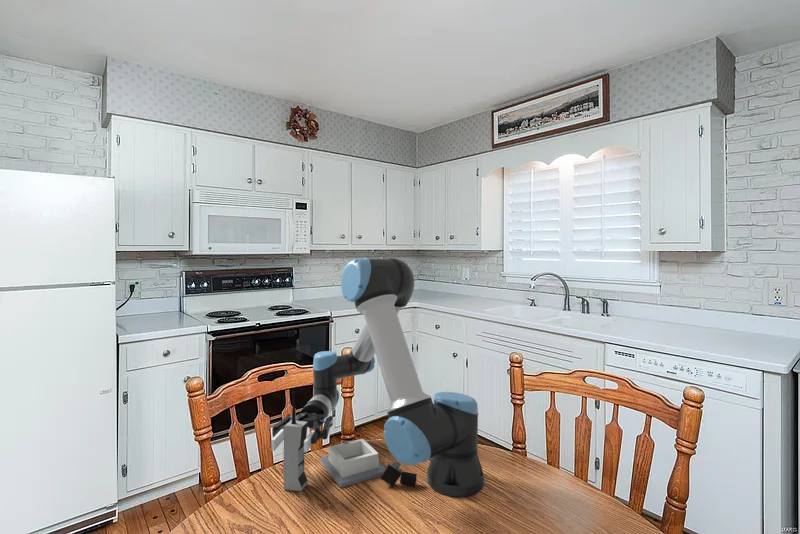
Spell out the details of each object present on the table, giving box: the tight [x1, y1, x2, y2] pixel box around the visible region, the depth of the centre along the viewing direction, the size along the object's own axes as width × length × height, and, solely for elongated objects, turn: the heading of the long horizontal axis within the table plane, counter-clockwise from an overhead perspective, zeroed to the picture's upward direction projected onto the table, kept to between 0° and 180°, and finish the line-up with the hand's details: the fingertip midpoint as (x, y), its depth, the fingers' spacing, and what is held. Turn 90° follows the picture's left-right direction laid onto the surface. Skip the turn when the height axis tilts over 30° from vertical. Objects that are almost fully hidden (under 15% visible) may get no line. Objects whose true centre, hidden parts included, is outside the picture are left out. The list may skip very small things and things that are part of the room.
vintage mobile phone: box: [283, 391, 309, 492], centre depth 106 cm, size 4×5×25 cm
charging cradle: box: [319, 438, 386, 488], centre depth 116 cm, size 16×14×5 cm
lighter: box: [379, 460, 418, 488], centre depth 108 cm, size 9×2×6 cm
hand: (289, 446), depth 101 cm, fingers open, 8 cm apart
